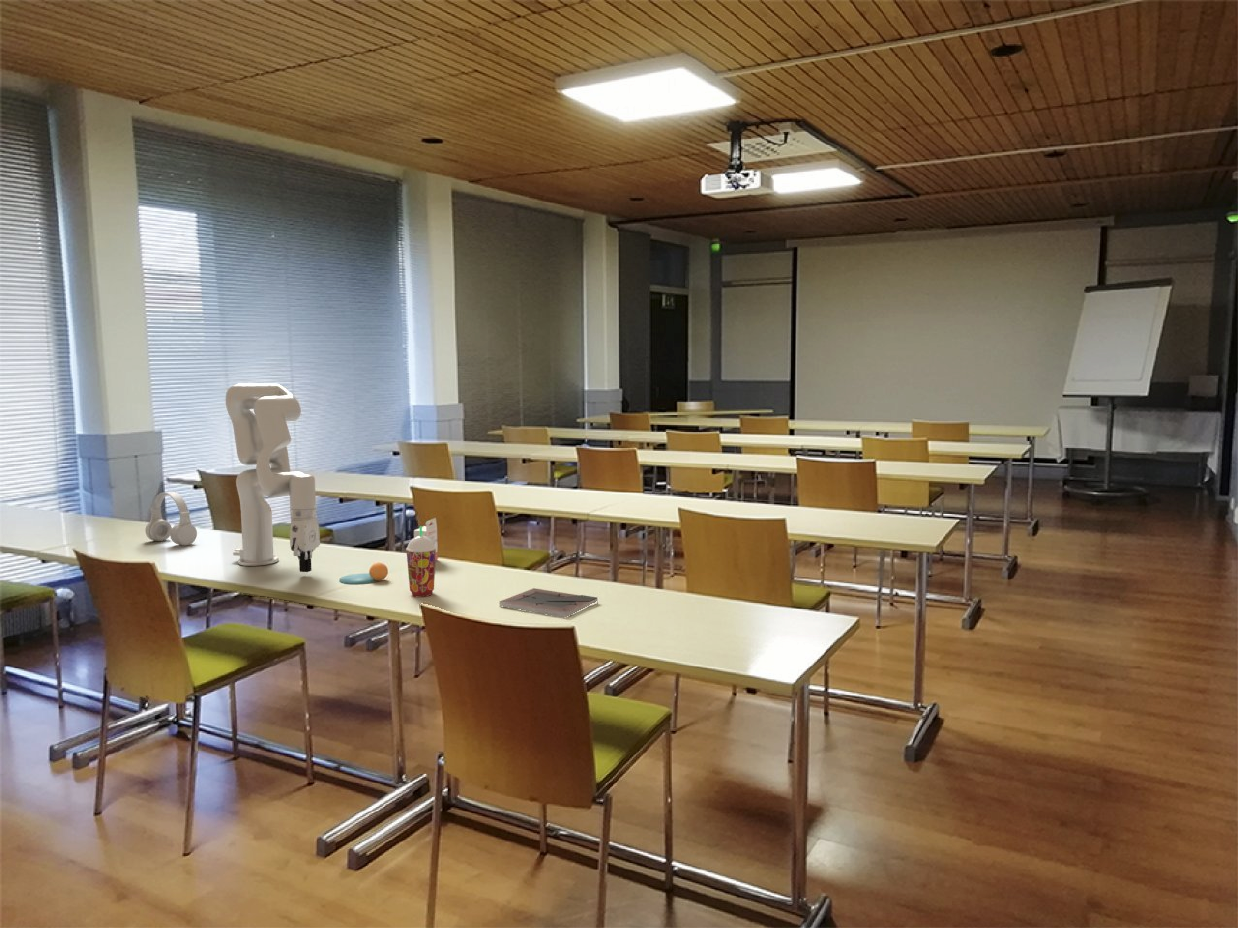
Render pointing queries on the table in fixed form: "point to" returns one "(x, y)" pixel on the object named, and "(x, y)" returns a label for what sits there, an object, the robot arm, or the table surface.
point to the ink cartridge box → (429, 533)
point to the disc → (357, 579)
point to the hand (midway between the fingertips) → (305, 571)
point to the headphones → (162, 529)
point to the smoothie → (421, 565)
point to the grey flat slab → (548, 602)
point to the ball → (378, 571)
